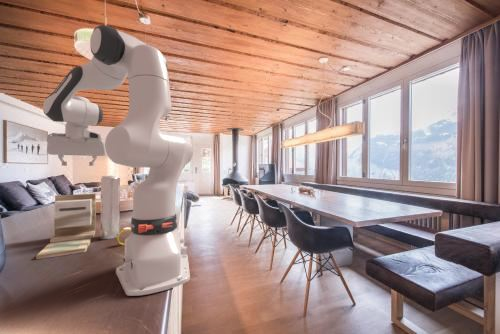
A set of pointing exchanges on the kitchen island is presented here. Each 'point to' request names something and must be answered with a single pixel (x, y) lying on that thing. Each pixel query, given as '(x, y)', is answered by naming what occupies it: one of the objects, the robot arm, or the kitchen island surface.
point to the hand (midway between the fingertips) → (78, 165)
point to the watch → (121, 232)
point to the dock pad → (64, 248)
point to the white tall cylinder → (110, 207)
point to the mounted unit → (74, 217)
